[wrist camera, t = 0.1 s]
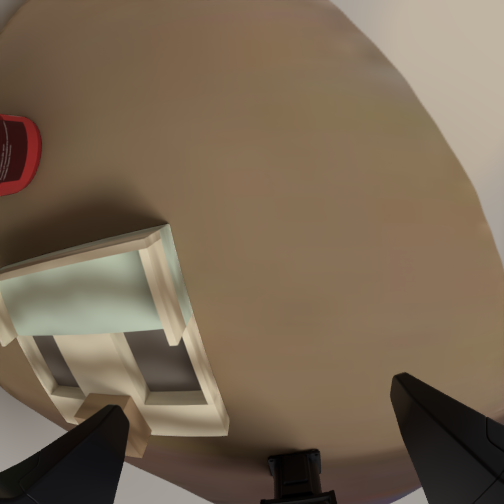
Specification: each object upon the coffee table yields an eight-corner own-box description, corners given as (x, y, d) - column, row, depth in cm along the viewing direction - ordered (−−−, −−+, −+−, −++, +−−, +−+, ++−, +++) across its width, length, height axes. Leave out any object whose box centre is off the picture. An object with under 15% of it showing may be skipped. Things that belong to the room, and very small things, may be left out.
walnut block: (151, 430, 25) (141, 457, 21) (111, 426, 25) (99, 450, 21) (130, 395, 23) (116, 423, 19) (89, 392, 24) (73, 416, 20)
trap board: (229, 419, 27) (225, 455, 22) (74, 411, 28) (59, 434, 23) (169, 223, 21) (144, 238, 16) (4, 266, 23) (-25, 281, 18)
